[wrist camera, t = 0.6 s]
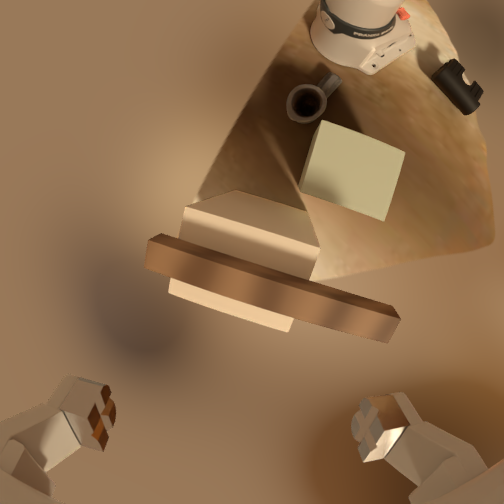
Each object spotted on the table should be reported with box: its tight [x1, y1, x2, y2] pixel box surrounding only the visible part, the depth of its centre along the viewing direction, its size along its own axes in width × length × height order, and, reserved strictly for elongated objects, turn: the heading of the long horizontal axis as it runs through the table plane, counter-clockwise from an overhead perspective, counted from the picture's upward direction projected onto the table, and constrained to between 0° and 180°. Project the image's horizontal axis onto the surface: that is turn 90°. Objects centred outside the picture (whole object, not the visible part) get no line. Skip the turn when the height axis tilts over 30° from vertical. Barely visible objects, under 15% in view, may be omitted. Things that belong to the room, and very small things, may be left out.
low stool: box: [298, 120, 405, 221], centre depth 42 cm, size 12×10×16 cm
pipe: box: [287, 72, 342, 124], centre depth 42 cm, size 6×13×8 cm, turn 142°
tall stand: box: [168, 190, 321, 332], centre depth 41 cm, size 14×10×26 cm
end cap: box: [431, 59, 483, 115], centre depth 37 cm, size 10×7×7 cm
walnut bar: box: [144, 233, 401, 343], centre depth 27 cm, size 26×3×3 cm, turn 74°
